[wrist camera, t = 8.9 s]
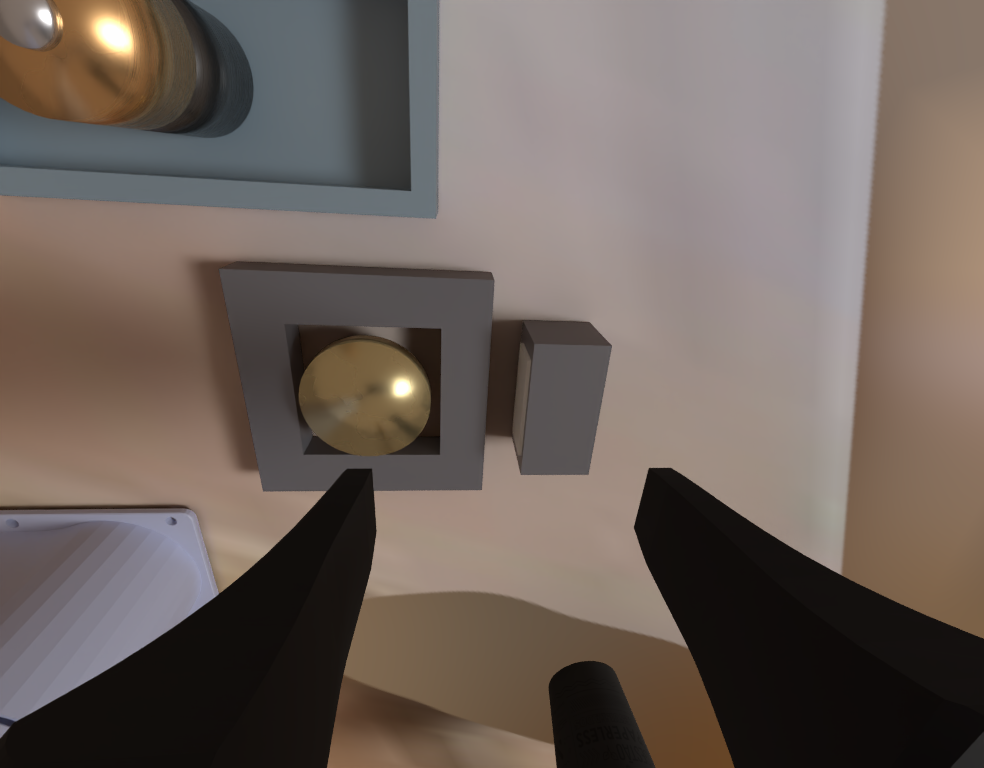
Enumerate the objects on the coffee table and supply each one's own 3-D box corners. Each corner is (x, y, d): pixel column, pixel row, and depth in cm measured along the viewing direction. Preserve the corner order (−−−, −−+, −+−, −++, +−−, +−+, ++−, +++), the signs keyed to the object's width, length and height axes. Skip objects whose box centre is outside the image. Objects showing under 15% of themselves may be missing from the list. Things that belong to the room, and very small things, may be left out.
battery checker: (275, 471, 22) (249, 513, 19) (236, 261, 17) (196, 277, 15) (566, 470, 23) (581, 510, 20) (596, 276, 19) (621, 293, 16)
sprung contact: (312, 445, 20) (306, 456, 19) (296, 333, 17) (290, 340, 17) (431, 446, 20) (430, 456, 19) (431, 337, 18) (430, 343, 17)
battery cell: (150, 134, 15) (-47, 112, 9) (116, -4, 13) (-147, -137, 7) (262, 141, 15) (143, 125, 9) (242, 8, 14) (83, -111, 8)
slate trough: (-8, 188, 16) (-89, 190, 13) (-121, -109, 12) (-255, -175, 10) (437, 212, 17) (435, 218, 15) (439, -45, 14) (437, -90, 12)
